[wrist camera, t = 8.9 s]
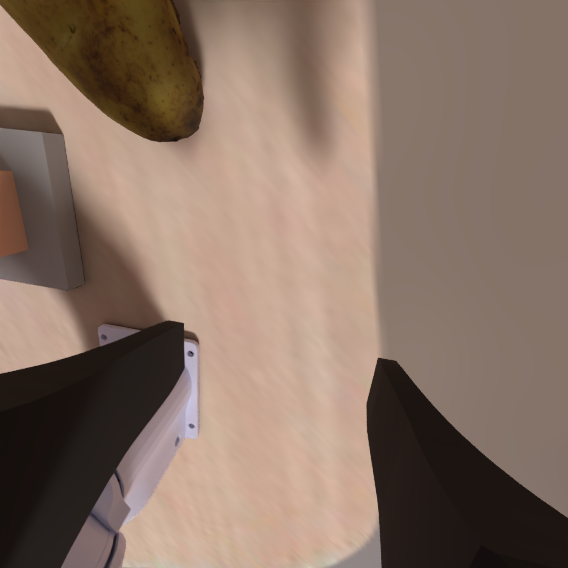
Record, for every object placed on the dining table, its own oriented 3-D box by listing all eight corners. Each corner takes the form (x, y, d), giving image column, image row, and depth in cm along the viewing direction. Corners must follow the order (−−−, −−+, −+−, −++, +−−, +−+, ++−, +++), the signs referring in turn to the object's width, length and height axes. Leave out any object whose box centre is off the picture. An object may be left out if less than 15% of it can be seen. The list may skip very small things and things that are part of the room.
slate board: (84, 283, 23) (68, 290, 22) (-31, 263, 24) (-54, 269, 23) (63, 134, 19) (41, 132, 18) (-73, 120, 21) (-102, 117, 19)
